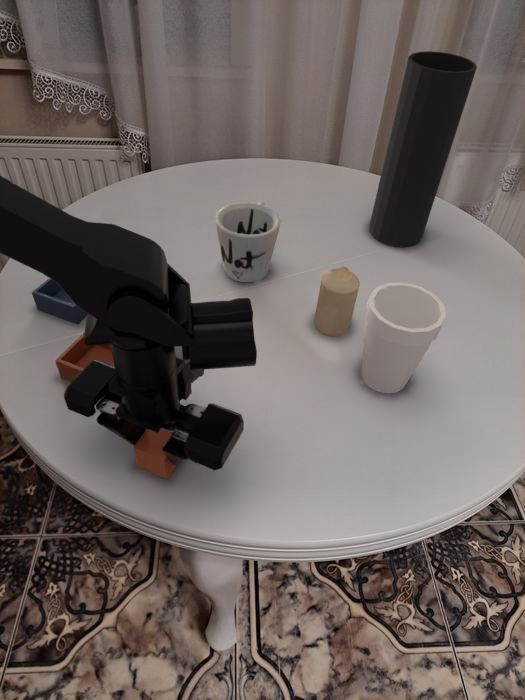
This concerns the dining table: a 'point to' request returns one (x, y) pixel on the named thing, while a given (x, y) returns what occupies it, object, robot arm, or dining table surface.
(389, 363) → the foam cup
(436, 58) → the vase
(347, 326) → the candle
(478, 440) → the dining table surface
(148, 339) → the robot arm
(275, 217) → the mug
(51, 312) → the slate bin
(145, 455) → the terracotta block
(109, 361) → the terracotta bin
